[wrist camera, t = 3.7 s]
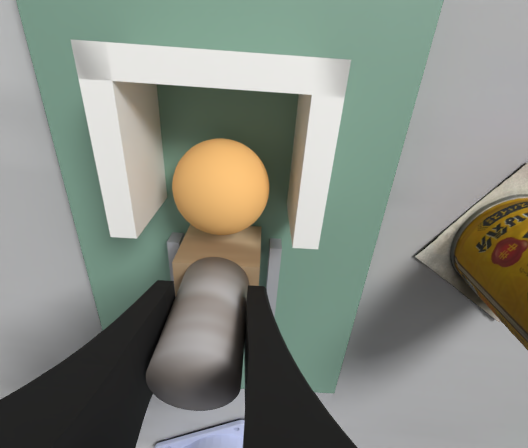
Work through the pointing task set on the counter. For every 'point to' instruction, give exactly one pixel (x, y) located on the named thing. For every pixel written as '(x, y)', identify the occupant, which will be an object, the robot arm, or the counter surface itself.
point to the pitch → (246, 144)
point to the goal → (210, 76)
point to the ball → (220, 186)
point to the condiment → (490, 254)
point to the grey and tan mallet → (206, 320)
